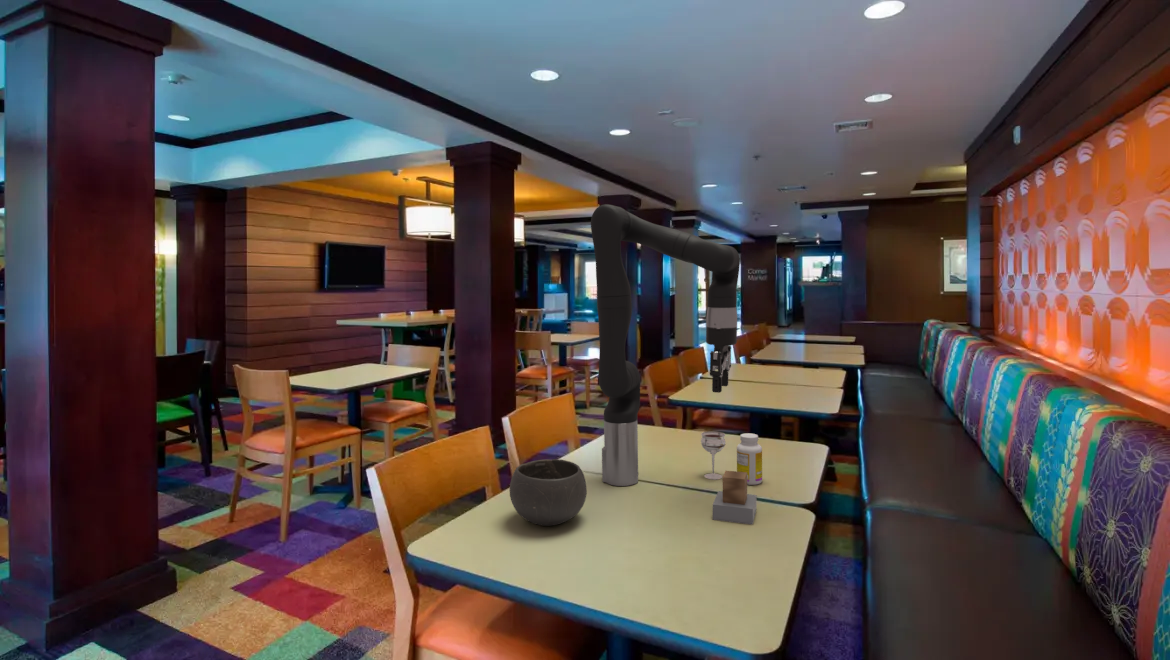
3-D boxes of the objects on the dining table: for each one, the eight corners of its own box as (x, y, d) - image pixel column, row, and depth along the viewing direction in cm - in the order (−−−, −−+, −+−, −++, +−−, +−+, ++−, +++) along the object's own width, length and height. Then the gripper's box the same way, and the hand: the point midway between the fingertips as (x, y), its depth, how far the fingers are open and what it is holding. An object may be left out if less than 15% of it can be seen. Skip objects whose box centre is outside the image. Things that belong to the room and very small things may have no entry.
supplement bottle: (759, 477, 165) (759, 432, 164) (764, 485, 159) (764, 438, 158) (735, 477, 166) (735, 432, 165) (738, 485, 159) (738, 438, 158)
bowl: (543, 500, 152) (542, 452, 151) (602, 515, 141) (601, 463, 140) (494, 525, 137) (492, 471, 136) (556, 543, 127) (554, 486, 126)
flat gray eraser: (712, 521, 138) (712, 504, 137) (718, 506, 146) (718, 491, 146) (752, 526, 135) (752, 508, 134) (756, 511, 143) (756, 495, 143)
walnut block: (722, 502, 139) (722, 477, 138) (725, 494, 143) (725, 470, 143) (744, 504, 137) (744, 479, 136) (747, 497, 141) (747, 472, 141)
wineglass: (707, 470, 172) (706, 430, 171) (729, 475, 168) (729, 433, 167) (696, 477, 166) (696, 435, 165) (719, 482, 162) (719, 438, 161)
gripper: (712, 322, 157) (711, 383, 159) (700, 327, 144) (699, 393, 146) (741, 323, 154) (740, 385, 156) (731, 328, 141) (730, 395, 143)
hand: (720, 389), depth 151 cm, fingers open, 8 cm apart
